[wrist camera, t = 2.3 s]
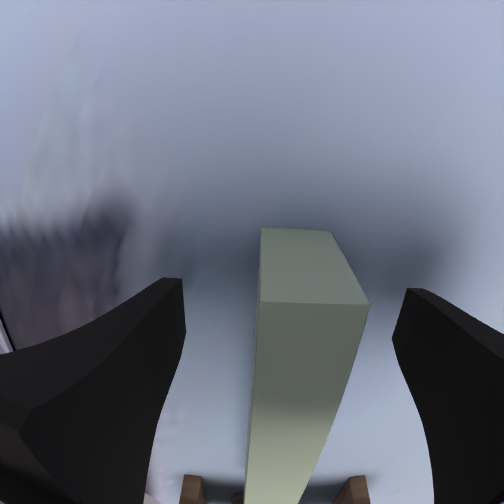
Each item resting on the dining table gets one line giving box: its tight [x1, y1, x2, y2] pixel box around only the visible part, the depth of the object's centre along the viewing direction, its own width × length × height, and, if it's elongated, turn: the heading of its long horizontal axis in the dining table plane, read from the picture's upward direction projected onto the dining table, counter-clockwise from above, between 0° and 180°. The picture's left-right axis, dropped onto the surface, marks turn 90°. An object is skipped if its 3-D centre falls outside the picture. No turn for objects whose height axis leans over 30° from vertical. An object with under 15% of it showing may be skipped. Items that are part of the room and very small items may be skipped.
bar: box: [244, 227, 370, 504], centre depth 12 cm, size 2×16×5 cm, turn 177°
